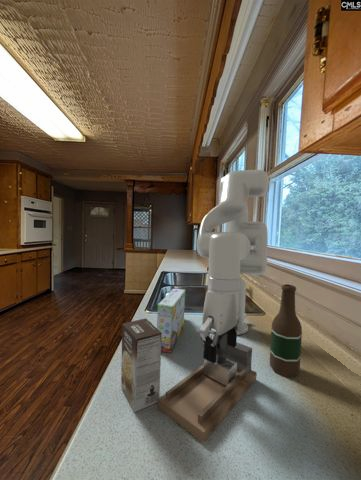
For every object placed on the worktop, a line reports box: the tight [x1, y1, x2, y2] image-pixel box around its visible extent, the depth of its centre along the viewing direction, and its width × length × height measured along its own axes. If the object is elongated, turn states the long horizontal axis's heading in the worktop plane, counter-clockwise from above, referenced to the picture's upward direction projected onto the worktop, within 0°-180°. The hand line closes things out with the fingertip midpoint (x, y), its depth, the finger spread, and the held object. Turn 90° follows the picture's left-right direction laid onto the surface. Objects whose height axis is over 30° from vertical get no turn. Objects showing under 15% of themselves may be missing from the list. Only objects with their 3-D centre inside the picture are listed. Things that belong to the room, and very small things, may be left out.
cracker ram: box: [203, 332, 237, 386], centre depth 57 cm, size 4×7×11 cm, turn 49°
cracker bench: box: [157, 341, 257, 443], centre depth 55 cm, size 24×12×8 cm, turn 139°
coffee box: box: [120, 318, 162, 413], centre depth 53 cm, size 9×6×16 cm
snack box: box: [156, 288, 186, 354], centre depth 82 cm, size 21×6×15 cm, turn 168°
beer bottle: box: [269, 283, 303, 378], centre depth 65 cm, size 8×8×24 cm
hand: (220, 352), depth 57 cm, fingers open, 9 cm apart
